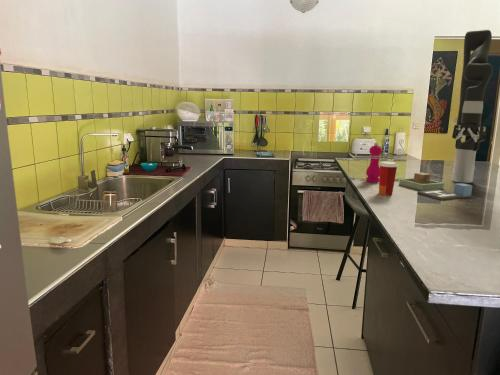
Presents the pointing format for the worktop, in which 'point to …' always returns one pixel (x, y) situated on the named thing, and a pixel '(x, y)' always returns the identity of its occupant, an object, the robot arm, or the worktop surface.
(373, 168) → the pepper mill
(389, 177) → the paper cup
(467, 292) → the worktop surface
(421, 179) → the walnut block
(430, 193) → the letter mat
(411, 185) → the tray
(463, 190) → the slate cube
